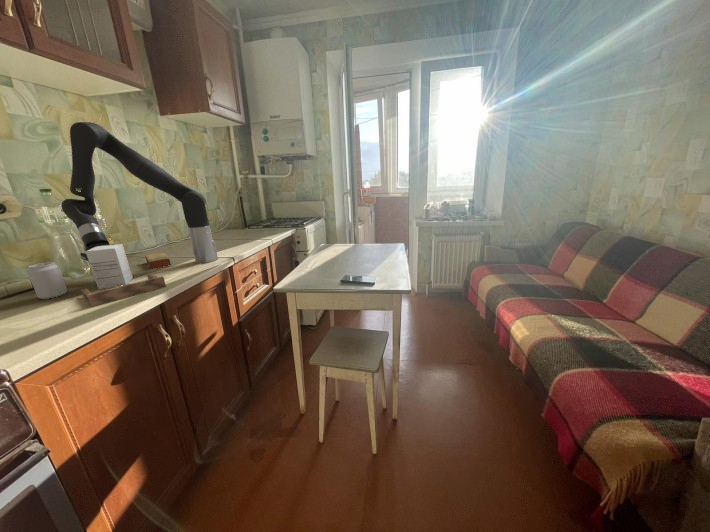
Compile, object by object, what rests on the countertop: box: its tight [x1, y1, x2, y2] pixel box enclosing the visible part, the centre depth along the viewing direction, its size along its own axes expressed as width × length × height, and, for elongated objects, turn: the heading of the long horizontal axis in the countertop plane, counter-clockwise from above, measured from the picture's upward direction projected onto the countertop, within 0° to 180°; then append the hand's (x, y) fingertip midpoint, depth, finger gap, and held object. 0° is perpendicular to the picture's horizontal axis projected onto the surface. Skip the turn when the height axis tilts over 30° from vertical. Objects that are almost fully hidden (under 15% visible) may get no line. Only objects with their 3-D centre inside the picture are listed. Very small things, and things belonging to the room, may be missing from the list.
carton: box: [144, 252, 172, 270], centre depth 135 cm, size 8×16×4 cm, turn 41°
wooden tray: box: [80, 273, 167, 308], centre depth 101 cm, size 21×15×4 cm
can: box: [26, 261, 68, 300], centre depth 98 cm, size 8×8×12 cm
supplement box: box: [85, 243, 134, 290], centre depth 107 cm, size 9×9×15 cm
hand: (109, 269), depth 112 cm, fingers closed
